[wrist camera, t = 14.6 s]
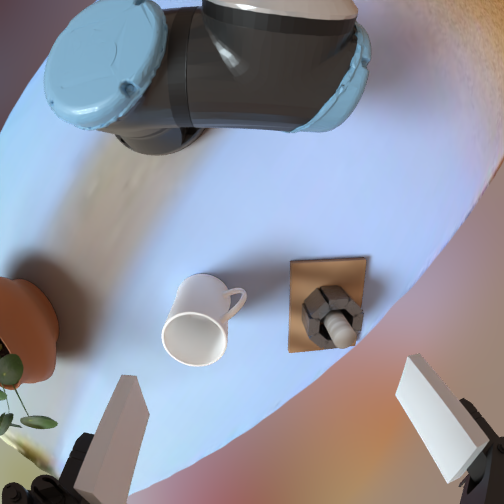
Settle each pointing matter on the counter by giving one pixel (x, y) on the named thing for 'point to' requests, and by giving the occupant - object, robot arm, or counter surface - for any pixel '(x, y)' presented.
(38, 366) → the potted plant
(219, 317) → the mug
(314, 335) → the ring
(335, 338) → the post block
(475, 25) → the counter surface
